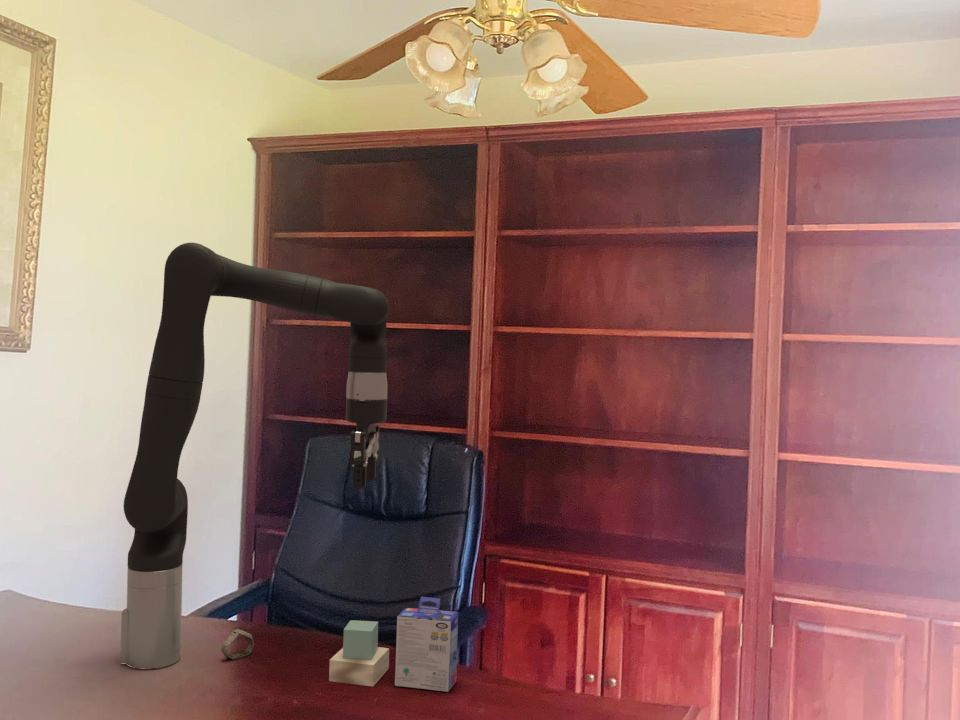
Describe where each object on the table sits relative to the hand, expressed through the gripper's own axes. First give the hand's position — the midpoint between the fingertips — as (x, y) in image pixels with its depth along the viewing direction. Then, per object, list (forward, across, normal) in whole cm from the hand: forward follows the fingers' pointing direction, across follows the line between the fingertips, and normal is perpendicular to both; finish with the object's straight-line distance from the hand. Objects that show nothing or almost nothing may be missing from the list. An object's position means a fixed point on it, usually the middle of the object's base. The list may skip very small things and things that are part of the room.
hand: (364, 483), depth 153 cm
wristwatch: (+32, +4, -22) cm, 39 cm away
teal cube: (+28, +9, +2) cm, 30 cm away
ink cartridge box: (+32, +11, +14) cm, 37 cm away
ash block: (+32, +9, +2) cm, 34 cm away
